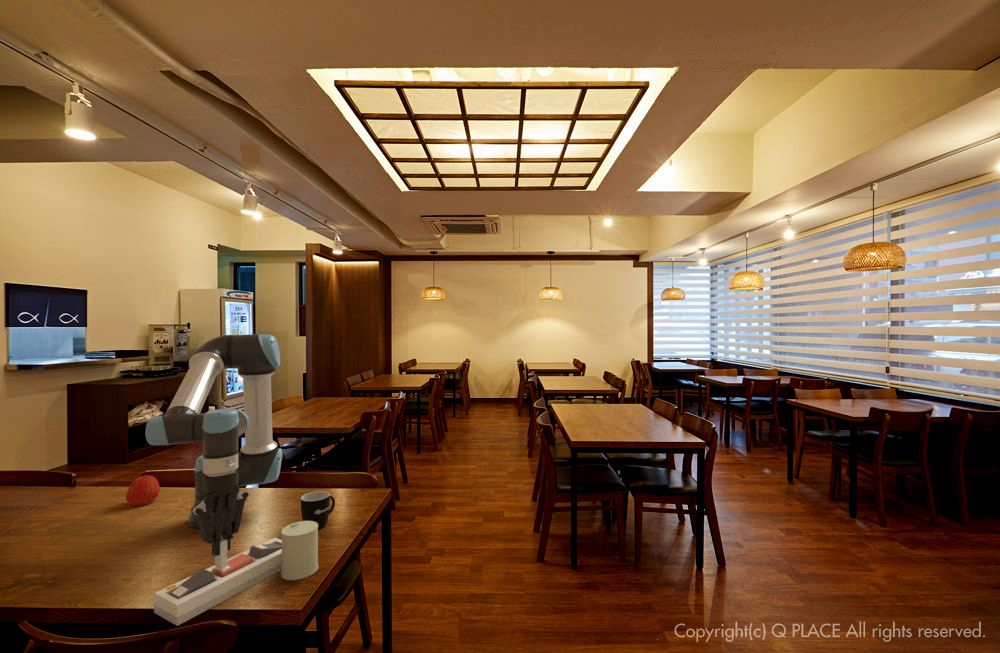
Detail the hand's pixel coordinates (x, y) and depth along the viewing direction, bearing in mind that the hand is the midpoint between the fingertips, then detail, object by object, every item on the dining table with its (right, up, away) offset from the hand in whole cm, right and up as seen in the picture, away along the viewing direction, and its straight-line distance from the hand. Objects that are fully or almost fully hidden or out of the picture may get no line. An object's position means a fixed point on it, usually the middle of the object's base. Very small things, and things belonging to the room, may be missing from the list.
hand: (221, 565), depth 108 cm
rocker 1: (-3, -1, -6) cm, 7 cm away
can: (+16, -6, +8) cm, 19 cm away
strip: (+3, -6, +6) cm, 9 cm away
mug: (+9, -7, +37) cm, 38 cm away
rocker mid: (+1, -2, +2) cm, 3 cm away
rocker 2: (+6, -2, +11) cm, 12 cm away
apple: (-68, -8, +58) cm, 89 cm away
